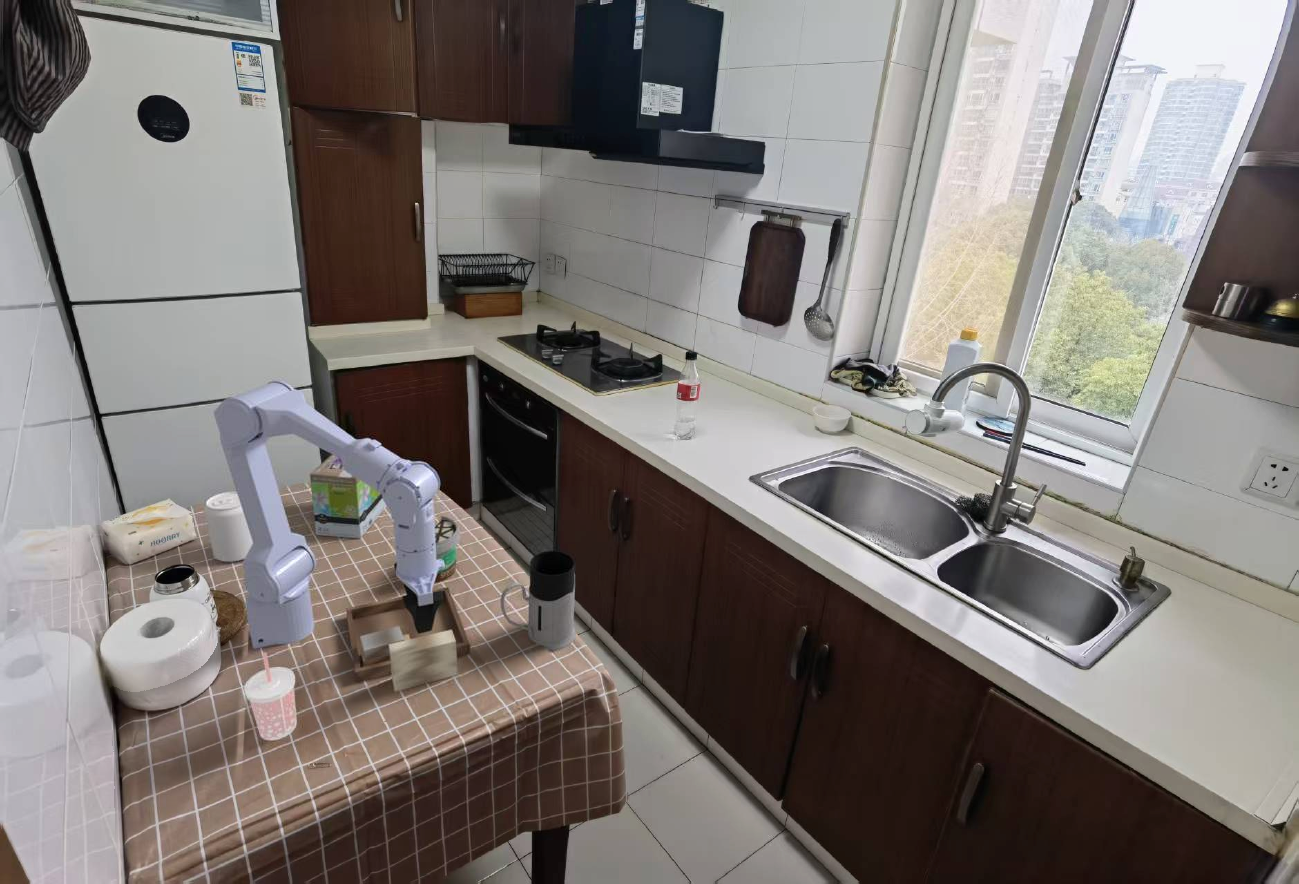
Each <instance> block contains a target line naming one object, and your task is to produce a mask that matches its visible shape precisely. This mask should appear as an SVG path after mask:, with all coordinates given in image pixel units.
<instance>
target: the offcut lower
mask: <svg viewBox="0 0 1299 884" xmlns="http://www.w3.org/2000/svg"><path fill="white" fill-rule="evenodd" d="M403 638H404V641H405V640H410V637H409V634H406V635H403ZM360 647H361V645H360ZM361 655H362V661H363V667H365V666H370V665H374V664H378V663H382V662H386V661H390V654H388V655H384V656H381V657H377V658H374V659H370V660H367V661H366V660H365V657H364V654H363V650H362V647H361Z"/></svg>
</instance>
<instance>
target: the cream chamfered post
mask: <svg viewBox="0 0 1299 884" xmlns="http://www.w3.org/2000/svg"><path fill="white" fill-rule="evenodd" d="M389 653H390V663H391V674H390V675H391V681H392V685H393V690H394V692H399V691H402V690H407V689H409V688H413V687H417V686H422V685H426V684H429V683H432V682H437V681H439V680H444V679H448V678H452V677H456V676H458V657H457V653H456V640H455V637H454V634H453V631H452V630H448V631H444V632H439V633H435V634H431V635H427V636H422V637H418V638H414V639H410V640H405V641H401V642H397V643H393V644H389Z"/></svg>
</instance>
